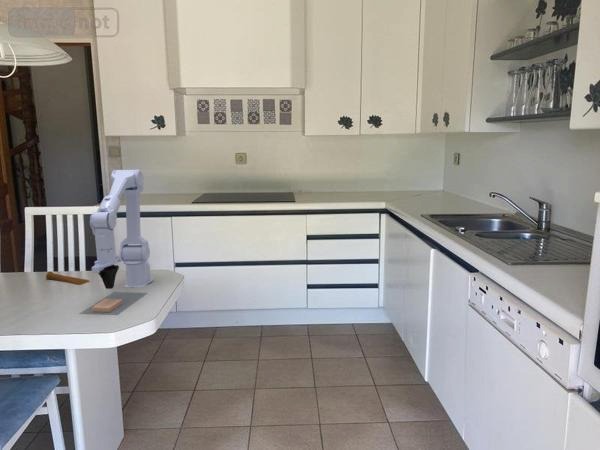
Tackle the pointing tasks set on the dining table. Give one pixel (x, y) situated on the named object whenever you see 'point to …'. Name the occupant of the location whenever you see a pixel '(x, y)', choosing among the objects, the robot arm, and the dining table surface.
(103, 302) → the tile
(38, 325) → the dining table surface
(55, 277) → the primitive tool
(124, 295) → the mat
